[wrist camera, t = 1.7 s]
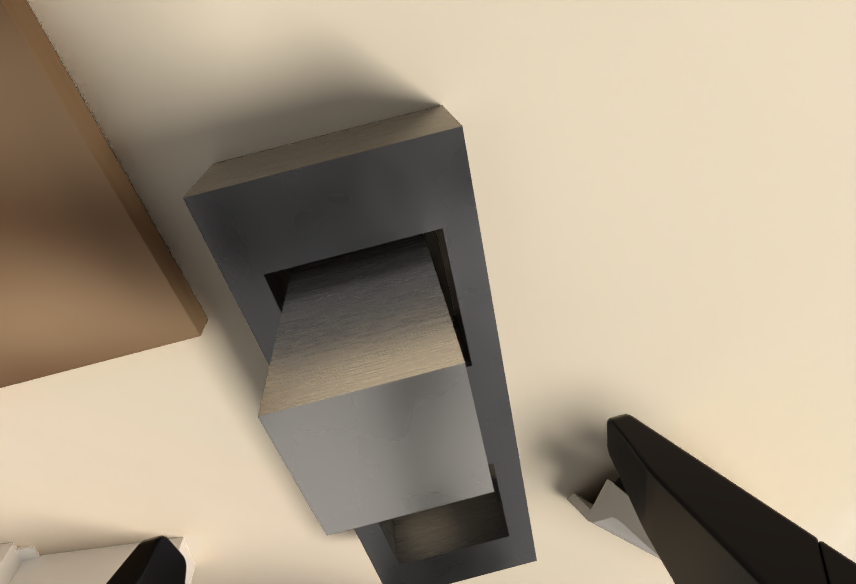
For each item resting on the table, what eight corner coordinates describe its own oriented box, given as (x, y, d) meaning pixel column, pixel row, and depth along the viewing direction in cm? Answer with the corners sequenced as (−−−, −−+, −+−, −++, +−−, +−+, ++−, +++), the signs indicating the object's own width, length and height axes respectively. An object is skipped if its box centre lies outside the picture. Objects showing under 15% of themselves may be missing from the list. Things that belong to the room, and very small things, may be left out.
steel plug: (439, 307, 18) (494, 491, 11) (336, 334, 18) (327, 535, 11) (415, 209, 16) (465, 362, 9) (298, 239, 16) (257, 416, 9)
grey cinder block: (517, 503, 25) (536, 560, 22) (386, 537, 25) (390, 599, 22) (442, 105, 14) (462, 125, 12) (213, 163, 14) (183, 197, 12)
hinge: (562, 496, 25) (744, 685, 16) (614, 422, 25) (825, 569, 16) (715, 580, 32) (901, 743, 23) (755, 522, 32) (957, 662, 23)
